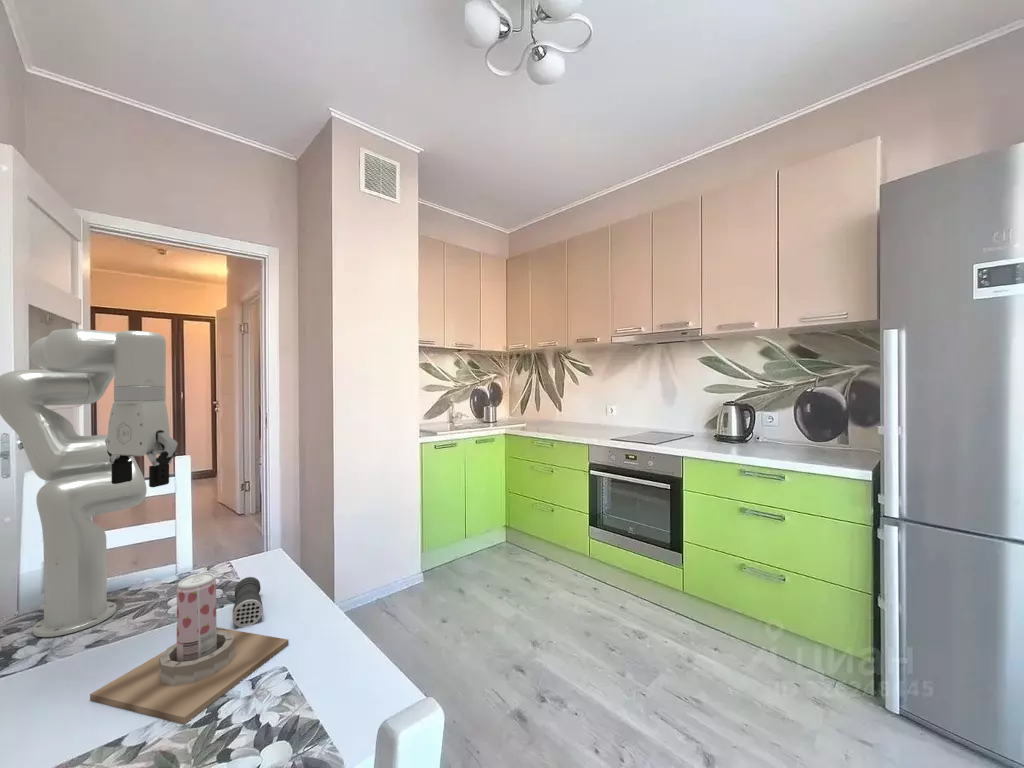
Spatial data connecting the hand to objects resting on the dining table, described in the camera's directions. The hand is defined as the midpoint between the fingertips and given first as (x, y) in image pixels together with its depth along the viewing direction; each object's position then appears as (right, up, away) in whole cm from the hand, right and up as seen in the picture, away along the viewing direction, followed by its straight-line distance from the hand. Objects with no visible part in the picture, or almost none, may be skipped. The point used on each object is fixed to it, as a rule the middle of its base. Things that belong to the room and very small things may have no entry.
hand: (140, 484), depth 82 cm
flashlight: (+12, -32, +14) cm, 37 cm away
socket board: (+16, -32, -7) cm, 36 cm away
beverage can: (+16, -31, -6) cm, 35 cm away
